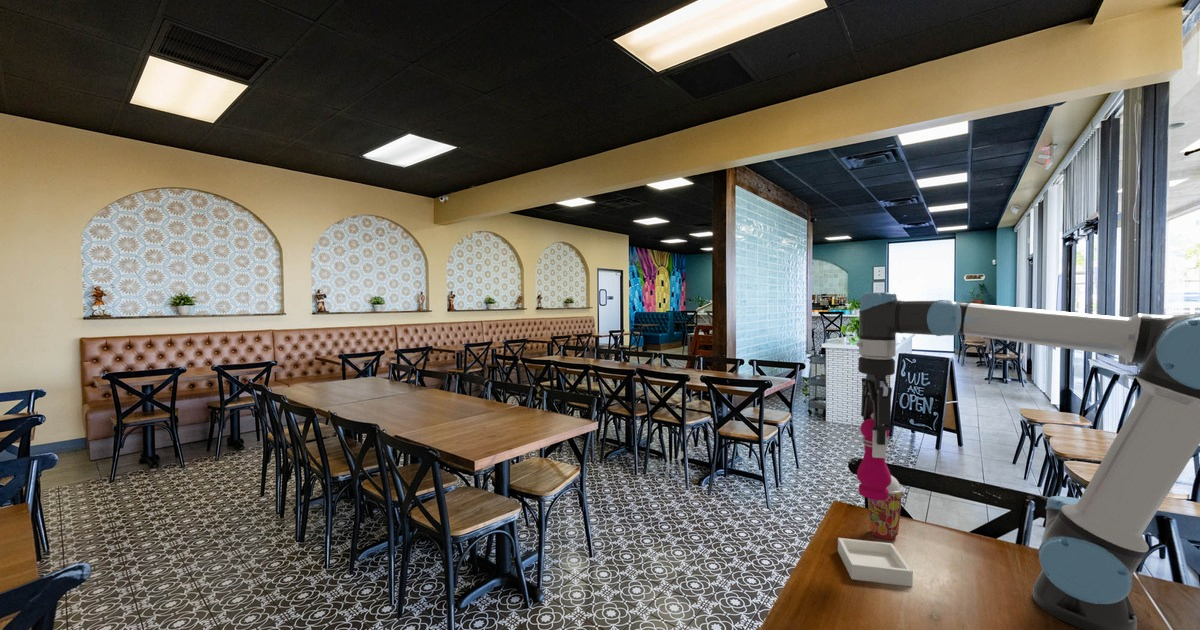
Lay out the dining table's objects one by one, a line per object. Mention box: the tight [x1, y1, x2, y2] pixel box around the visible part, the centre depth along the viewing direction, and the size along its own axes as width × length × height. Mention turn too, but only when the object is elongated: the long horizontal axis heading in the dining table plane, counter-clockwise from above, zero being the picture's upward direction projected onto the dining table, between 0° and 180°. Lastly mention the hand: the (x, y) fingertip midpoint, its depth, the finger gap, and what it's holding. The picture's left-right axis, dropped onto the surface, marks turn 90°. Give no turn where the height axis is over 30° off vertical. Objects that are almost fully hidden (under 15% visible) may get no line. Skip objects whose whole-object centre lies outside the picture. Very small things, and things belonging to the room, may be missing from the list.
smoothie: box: [867, 474, 904, 541], centre depth 130 cm, size 8×8×20 cm
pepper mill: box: [856, 413, 892, 500], centre depth 114 cm, size 7×7×20 cm
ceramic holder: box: [837, 537, 914, 588], centre depth 115 cm, size 13×13×4 cm
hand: (874, 452), depth 114 cm, fingers closed on pepper mill, 6 cm apart
